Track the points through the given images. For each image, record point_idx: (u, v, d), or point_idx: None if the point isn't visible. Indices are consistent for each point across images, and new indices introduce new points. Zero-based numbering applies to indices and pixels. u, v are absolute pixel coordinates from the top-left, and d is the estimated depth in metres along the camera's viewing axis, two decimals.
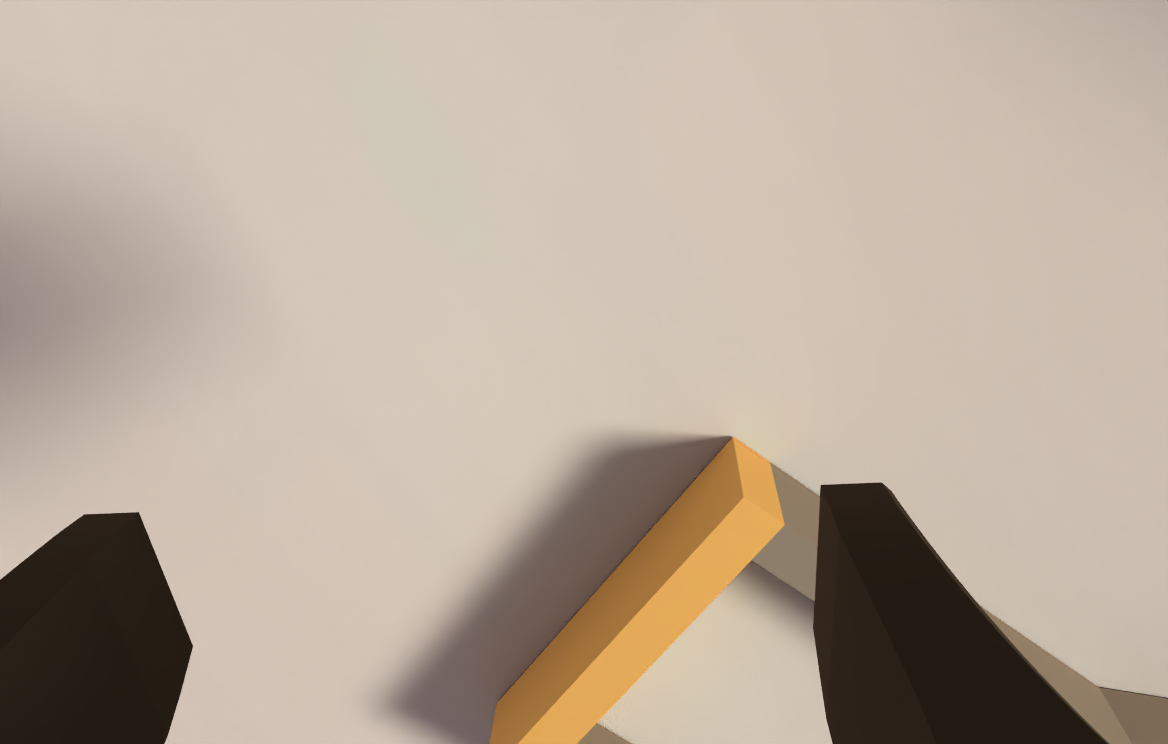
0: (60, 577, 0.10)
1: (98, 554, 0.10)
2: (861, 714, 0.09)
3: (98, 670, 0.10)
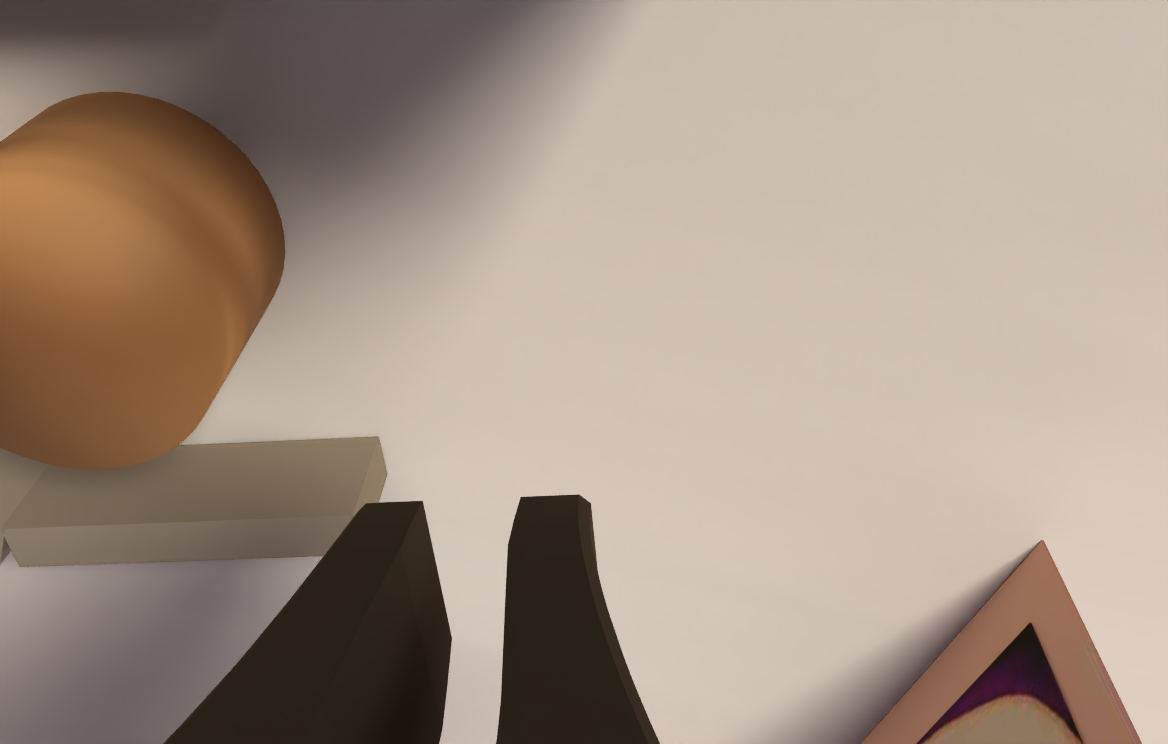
0: (378, 566, 0.10)
1: (403, 543, 0.10)
2: None
3: (405, 661, 0.10)
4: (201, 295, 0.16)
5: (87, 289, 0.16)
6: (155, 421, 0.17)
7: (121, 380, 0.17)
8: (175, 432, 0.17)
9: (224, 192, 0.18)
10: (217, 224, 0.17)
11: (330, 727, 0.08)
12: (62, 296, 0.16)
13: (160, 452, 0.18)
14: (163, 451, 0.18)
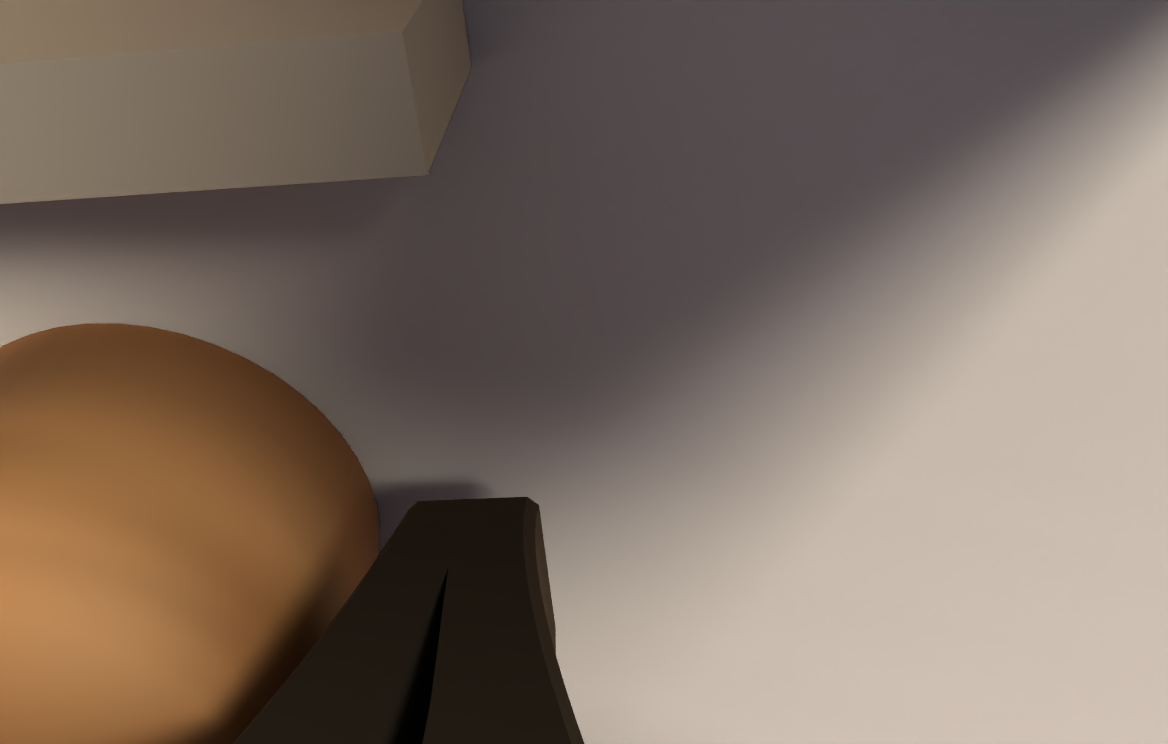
0: (437, 564, 0.09)
1: (459, 541, 0.10)
2: None
3: None
4: None
5: None
6: None
7: None
8: None
9: (294, 506, 0.11)
10: (285, 578, 0.10)
11: (399, 725, 0.08)
12: None
13: None
14: None
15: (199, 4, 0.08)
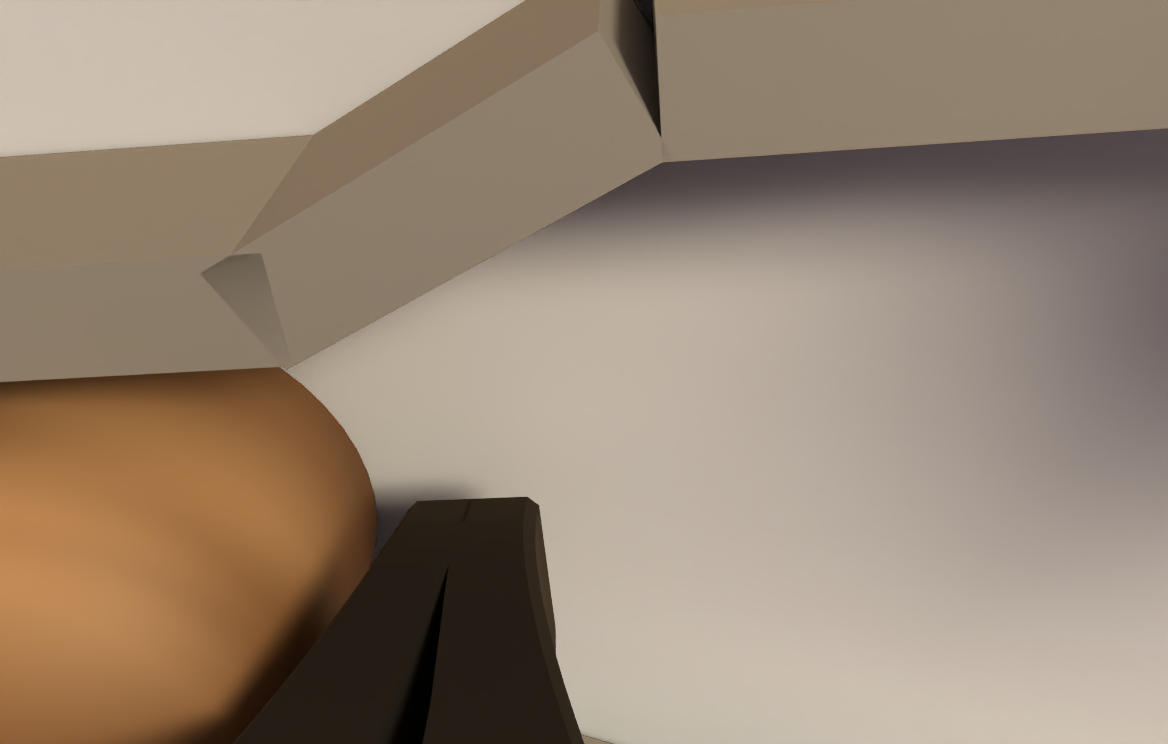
0: (437, 564, 0.09)
1: (459, 541, 0.10)
2: None
3: None
4: None
5: (58, 737, 0.09)
6: None
7: None
8: None
9: (296, 498, 0.11)
10: (289, 572, 0.10)
11: (398, 725, 0.08)
12: None
13: None
14: None
15: None
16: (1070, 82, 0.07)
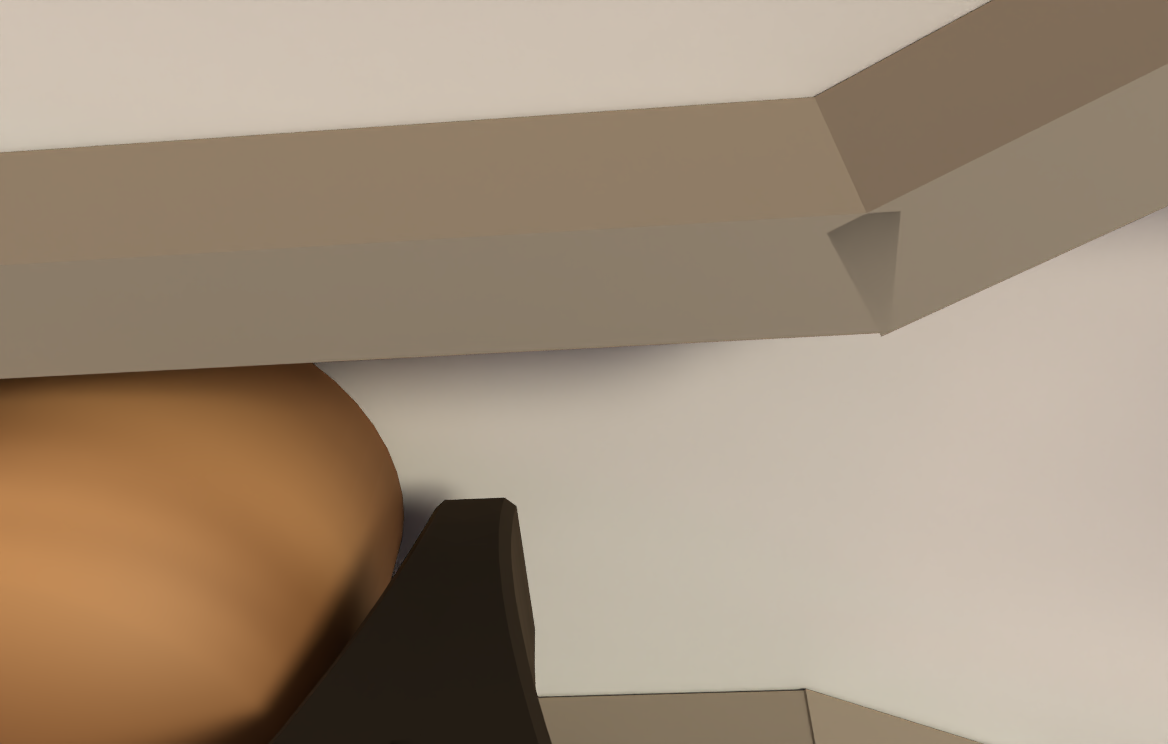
0: (467, 563, 0.09)
1: (488, 540, 0.10)
2: None
3: None
4: None
5: (98, 735, 0.09)
6: None
7: None
8: None
9: (332, 496, 0.10)
10: (325, 571, 0.10)
11: None
12: (48, 741, 0.09)
13: None
14: None
15: None
16: None
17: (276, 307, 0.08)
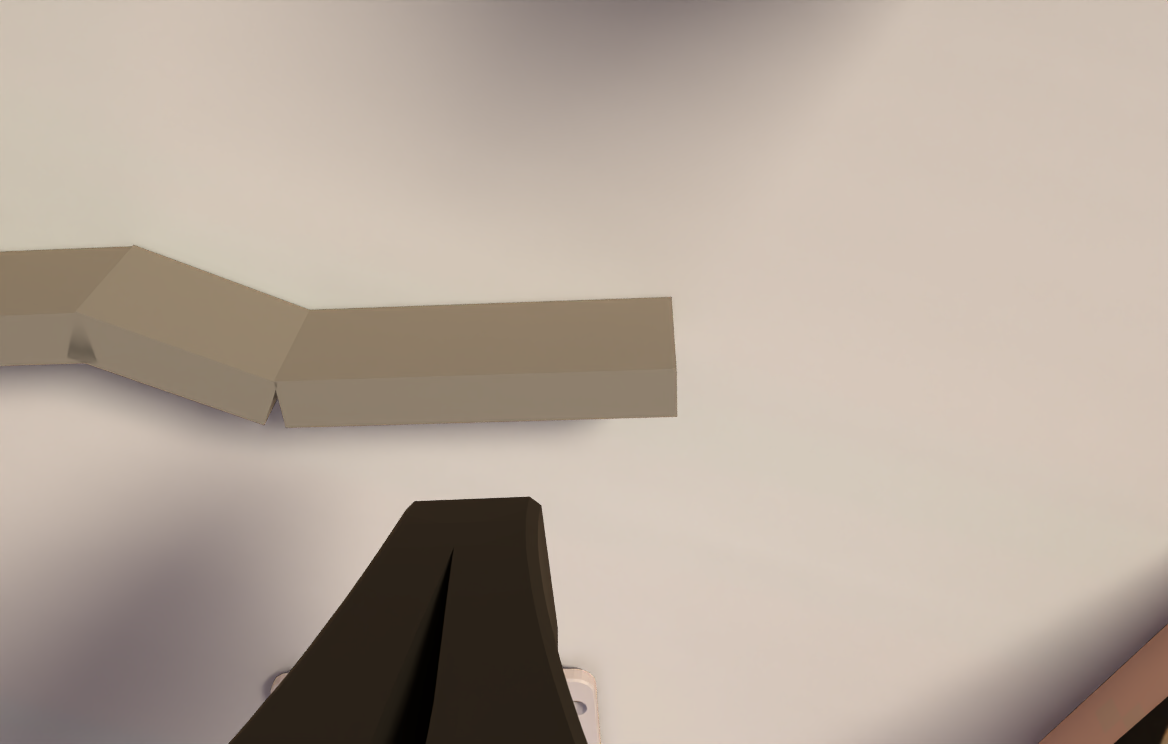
0: (434, 564, 0.10)
1: (456, 541, 0.10)
2: None
3: None
4: None
5: None
6: None
7: None
8: None
9: None
10: None
11: (395, 725, 0.08)
12: None
13: None
14: None
15: None
16: None
17: None
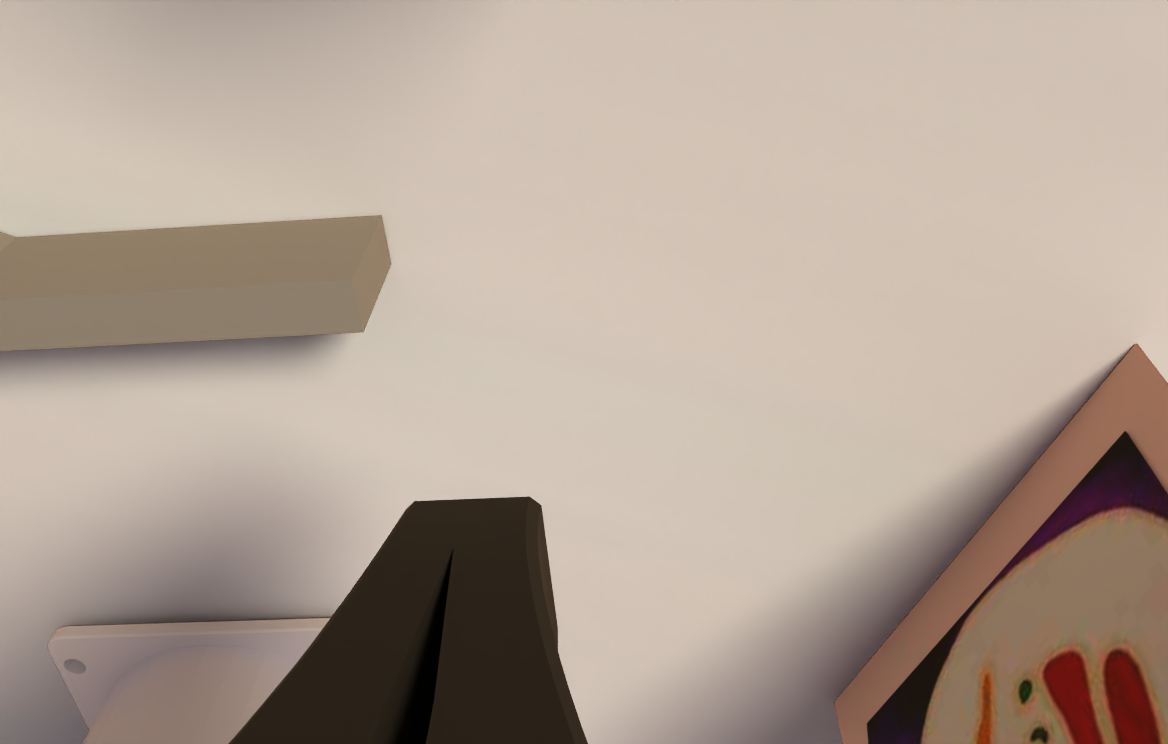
0: (433, 564, 0.10)
1: (456, 541, 0.10)
2: None
3: None
4: None
5: None
6: None
7: None
8: None
9: None
10: None
11: (394, 726, 0.08)
12: None
13: None
14: None
15: None
16: None
17: None
